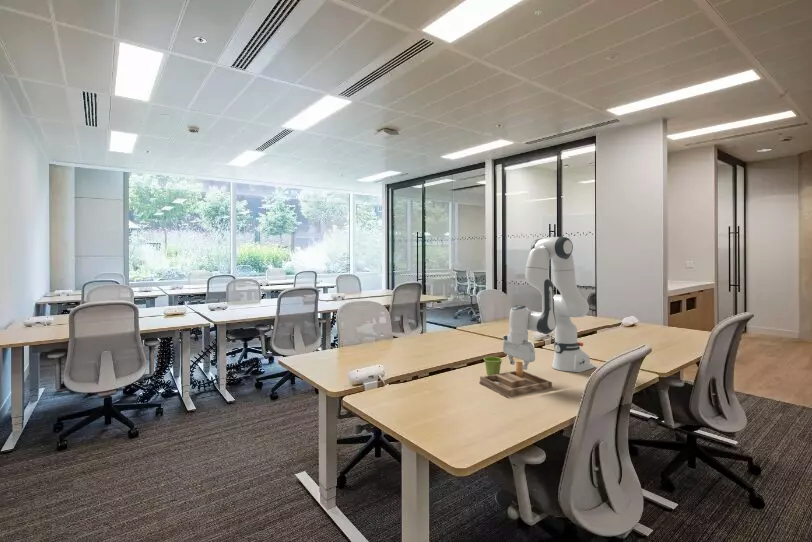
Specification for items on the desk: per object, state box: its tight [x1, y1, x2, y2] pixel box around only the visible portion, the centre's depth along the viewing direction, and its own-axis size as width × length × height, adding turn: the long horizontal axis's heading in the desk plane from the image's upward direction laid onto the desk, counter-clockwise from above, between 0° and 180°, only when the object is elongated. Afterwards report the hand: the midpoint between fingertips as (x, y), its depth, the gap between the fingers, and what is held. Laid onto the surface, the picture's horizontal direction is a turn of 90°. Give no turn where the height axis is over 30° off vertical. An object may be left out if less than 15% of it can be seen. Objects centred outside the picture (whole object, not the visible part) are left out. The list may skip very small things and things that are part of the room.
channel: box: [478, 370, 553, 399], centre depth 187 cm, size 25×22×3 cm
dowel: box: [515, 361, 524, 378], centre depth 196 cm, size 3×3×8 cm
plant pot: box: [483, 356, 503, 376], centre depth 204 cm, size 9×9×9 cm
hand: (518, 366), depth 195 cm, fingers open, 8 cm apart
